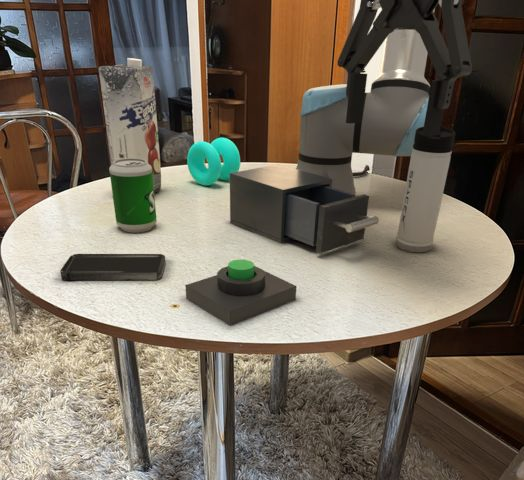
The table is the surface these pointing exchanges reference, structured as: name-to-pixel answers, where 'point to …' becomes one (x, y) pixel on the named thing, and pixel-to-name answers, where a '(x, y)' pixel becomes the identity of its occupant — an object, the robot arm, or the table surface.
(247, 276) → the button
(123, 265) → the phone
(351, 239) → the drawer
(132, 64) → the juice carton
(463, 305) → the table surface
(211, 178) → the donuts
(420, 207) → the travel mug
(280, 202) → the cabinet
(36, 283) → the table surface
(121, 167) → the soda can
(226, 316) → the panel
